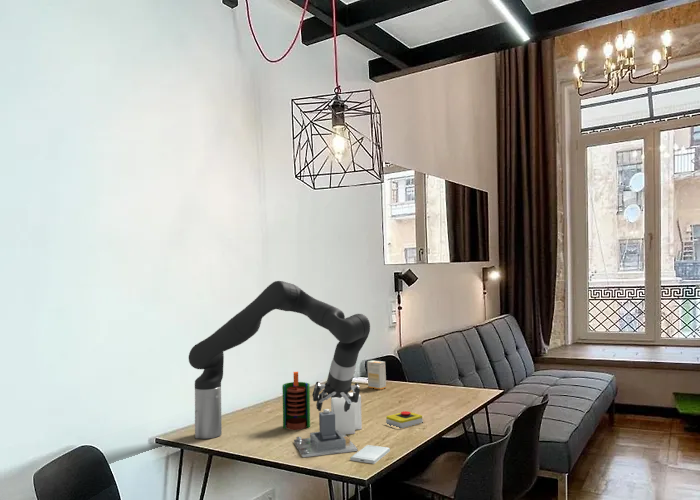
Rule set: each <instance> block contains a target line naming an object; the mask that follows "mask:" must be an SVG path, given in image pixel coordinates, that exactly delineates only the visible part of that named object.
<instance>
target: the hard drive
mask: <svg viewBox="0 0 700 500" xmlns="http://www.w3.org/2000/svg"><path fill="white" fill-rule="evenodd" d="M390 452H391V448H390V447H387V446H380V445H371V444H367V445H365V446H364V447H363V448H361V449H360V450H358V451H356V453H354V454H353V455H352V456H351V457H350V458H349V460H350V461H353V462H358V463H359V462H360V463H367V464H372V465H374V464H376V463H377V462H378V461H379V460H381V459H382V458H383V457H385V456H386V455H387V454H388V453H390Z"/></svg>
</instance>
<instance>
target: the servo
mask: <svg viewBox="0 0 700 500" xmlns="http://www.w3.org/2000/svg"><path fill="white" fill-rule="evenodd" d="M318 418H319V419H318V421H319V424H318V425H319V429H318V430H319V431H318V432H319V435H320V441H327V440H336V433H335V414H334V413H333V412H332V411H331V410H330V408H325V409H323V412H322V411H319V413H318Z"/></svg>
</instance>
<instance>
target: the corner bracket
mask: <svg viewBox="0 0 700 500" xmlns="http://www.w3.org/2000/svg"><path fill="white" fill-rule="evenodd" d="M348 393H349V395H350V396H353V392H348ZM330 398H331V397H330ZM345 401H346V400H345V399H344V398H343V397H341V398H338V397H334V398H331V399H330V405H331V406H330V411H332V412H333V413H334V414H335V430H338V431H339V433H340V434H341V435H342V434H345V435H352V434H356V430H362V428H363V427H362V426H363V423H362V421H363V420H362V419H363V418H362V396H361V394H360V393H359V397H358V402H356V403H355V402H352V403H351V405H350V409H349V410H347V412H345V411H344V404H345Z"/></svg>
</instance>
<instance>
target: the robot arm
mask: <svg viewBox="0 0 700 500" xmlns="http://www.w3.org/2000/svg"><path fill="white" fill-rule="evenodd" d="M274 310H279V311H283V312H284V311H285V312H292V313H298V314H301V315H304V316H305V317H307V318H308V319H309V320H310V321H311V322H312V323H314V324H316V325H317V326H320V327H321V328H324V329H326V330H328V331H329V333H330V334H331V335H332V336H333V337H334V338H335V339H336V340H337V341H338V342H337V343H336V346H335V350H334V354H333V358H332V360H331V363H330V367H329V369H328V375H327V379H326V382H325V383H320V381H316V382H315V385H314V388H313V392H312V401H313V402H316V404H315V407H316V410H318V412H322V407H323V403H324V402H325V401H327V400H329V399H330V398H334V397H338V398H341V397H343V398H344V399H345V400H346V401H345V404H344V411H345V412H347V410H349V409H350V405H351V403H352V402H355V403H356V402H358V397H359V394H360V391H361V387H360V384H359V383H354V385H353V384H352V383H353V379H354V375H355V374H356V368H357V367H356V365H357V362H358V358H359V353H360V351H361V350H362V348H363V346H364V344H365V343H366V341H367V339H368V338H369V335H370V331H371V323H370V320H369V318H368V317H367V316H366V315H365V314H364V313H355V314H352V315H350V316H348V317H345V313H344V312H343V310H341V309H339V308H338V307H335V306H333V305H331V304H328V303H326V302H325V301H322V300H319V299H316V298H315V297H313V296H311V295H309V293H307V292H305V291H304V290H303V289H302V288H300V287H299V286H297V285H295V284H294V283H291V282H286V281H283V280H275V281H273V282H271V283H270V284H269V285H267V287H266V288H265V289H264V290H263V291H262V292H261V293H260V294H259V295H258V296H257V297H256V298H254V300H252V302H251V303H249V304H247V305H246V306H245V308H243V309H242V310H241V311H239V312H238V313H236V314H235V315H234V316H233V317H232V318H230V319H229V320H228V321H227V322H226V323H224V324H223V325H222V326H221V327H219V328H218V329H217V330H216V331H214V332H213V333H212V334H211V335H210V336H208V337H207V338H204V339H203V340H201V341H200V342H198V343H197V344H196V343H195V345H194V346H192V347H191V349H190V350H189V353H188V362H189V364H190V366H191V367H192V368H194V369H196V370H203V371H202V373H201V374H200V375H199V376H198V377H197V378H196V379H195V380H194V439H200V440H201V439H202V440H203V439H206V440H207V439H214V438H218V437H220V436H221V435H222V431H223V430H222V429H223V427H222V424H223V423H222V381H223V378H224V358H225V356H224V354H225V353H224V352H226V351H228V350H231V349H233V348H235V347H237V346H240V345H241V344H244V343H245V342H246V341H248V340H249V339H251V338H253V336H254V335H256V333H257V332H259V330H260V327H261V324H262V320H263V318H264V317H265V316H266V315H268V314H269V313H271V311H274ZM351 391H352V393H353V396H350V395H349V393H351Z"/></svg>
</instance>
